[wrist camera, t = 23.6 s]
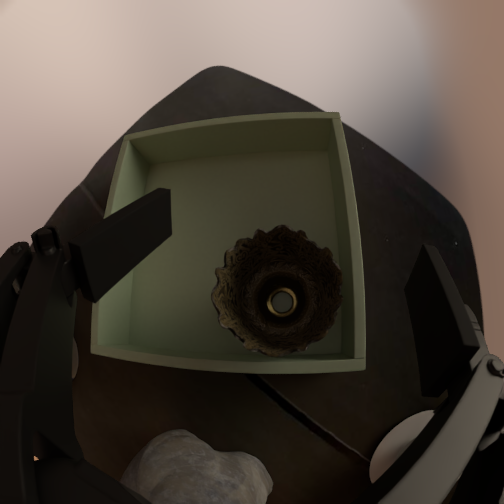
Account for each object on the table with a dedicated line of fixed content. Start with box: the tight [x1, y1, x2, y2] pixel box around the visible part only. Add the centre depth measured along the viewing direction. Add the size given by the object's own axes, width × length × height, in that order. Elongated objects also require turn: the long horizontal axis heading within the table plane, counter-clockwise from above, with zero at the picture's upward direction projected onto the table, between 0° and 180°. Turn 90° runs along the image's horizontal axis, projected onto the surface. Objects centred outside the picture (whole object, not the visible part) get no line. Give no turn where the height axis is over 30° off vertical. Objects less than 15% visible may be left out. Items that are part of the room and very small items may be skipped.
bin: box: [91, 112, 366, 374], centre depth 23 cm, size 21×21×6 cm
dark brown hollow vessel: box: [211, 225, 343, 357], centre depth 19 cm, size 8×7×8 cm
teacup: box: [369, 410, 462, 484], centre depth 15 cm, size 10×10×5 cm
